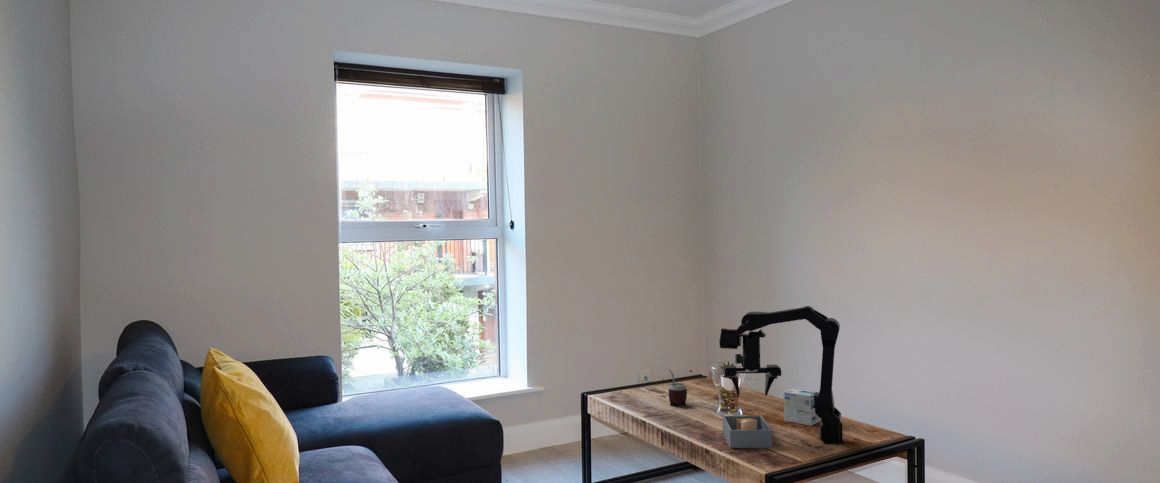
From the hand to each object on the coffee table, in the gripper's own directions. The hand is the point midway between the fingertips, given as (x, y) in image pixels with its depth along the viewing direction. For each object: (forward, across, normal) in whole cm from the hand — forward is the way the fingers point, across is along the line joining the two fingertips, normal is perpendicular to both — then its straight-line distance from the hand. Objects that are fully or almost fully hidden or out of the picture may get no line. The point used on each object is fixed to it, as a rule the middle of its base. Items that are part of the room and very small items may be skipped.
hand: (751, 396), depth 256 cm
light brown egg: (+12, +3, +10) cm, 17 cm away
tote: (+13, +3, +6) cm, 15 cm away
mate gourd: (+13, +22, -39) cm, 47 cm away
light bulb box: (+13, -20, -15) cm, 28 cm away
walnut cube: (+12, +3, +3) cm, 13 cm away
